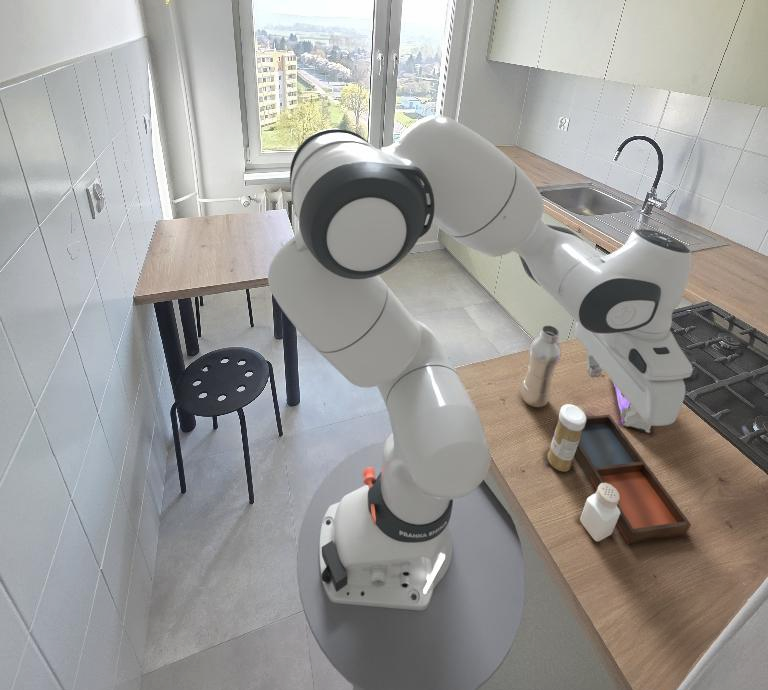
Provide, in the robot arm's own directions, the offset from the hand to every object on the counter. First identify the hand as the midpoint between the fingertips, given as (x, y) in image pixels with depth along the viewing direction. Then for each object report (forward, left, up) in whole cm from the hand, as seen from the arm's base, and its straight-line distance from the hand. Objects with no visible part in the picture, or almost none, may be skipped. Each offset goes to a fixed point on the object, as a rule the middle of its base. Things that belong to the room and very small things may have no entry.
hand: (608, 395), depth 69 cm
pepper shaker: (-1, -7, -23) cm, 24 cm away
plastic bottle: (+1, +20, -23) cm, 31 cm away
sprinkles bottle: (-1, +5, -23) cm, 24 cm away
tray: (+8, +1, -23) cm, 25 cm away
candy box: (+23, +16, -23) cm, 37 cm away
